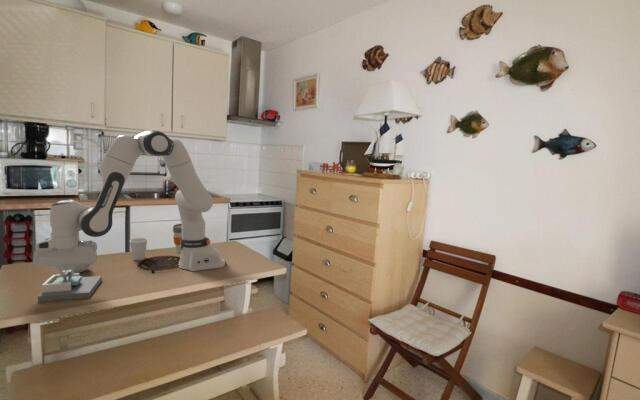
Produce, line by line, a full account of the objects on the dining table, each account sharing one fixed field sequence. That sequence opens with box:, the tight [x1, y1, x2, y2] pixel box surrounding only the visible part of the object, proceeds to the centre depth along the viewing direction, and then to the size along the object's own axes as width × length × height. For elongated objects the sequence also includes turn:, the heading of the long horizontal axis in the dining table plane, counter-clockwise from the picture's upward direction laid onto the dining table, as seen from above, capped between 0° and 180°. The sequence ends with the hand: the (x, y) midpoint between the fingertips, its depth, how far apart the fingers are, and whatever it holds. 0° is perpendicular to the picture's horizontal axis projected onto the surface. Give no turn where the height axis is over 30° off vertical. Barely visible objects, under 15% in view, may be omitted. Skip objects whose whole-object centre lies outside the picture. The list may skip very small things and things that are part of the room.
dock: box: [37, 272, 103, 303], centre depth 134 cm, size 16×18×5 cm
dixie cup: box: [129, 237, 148, 261], centre depth 175 cm, size 8×8×10 cm
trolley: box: [53, 269, 83, 287], centre depth 133 cm, size 8×6×6 cm
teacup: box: [62, 264, 92, 274], centre depth 153 cm, size 14×11×8 cm
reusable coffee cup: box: [172, 223, 182, 255], centre depth 191 cm, size 13×13×15 cm
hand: (67, 275), depth 133 cm, fingers closed on trolley
